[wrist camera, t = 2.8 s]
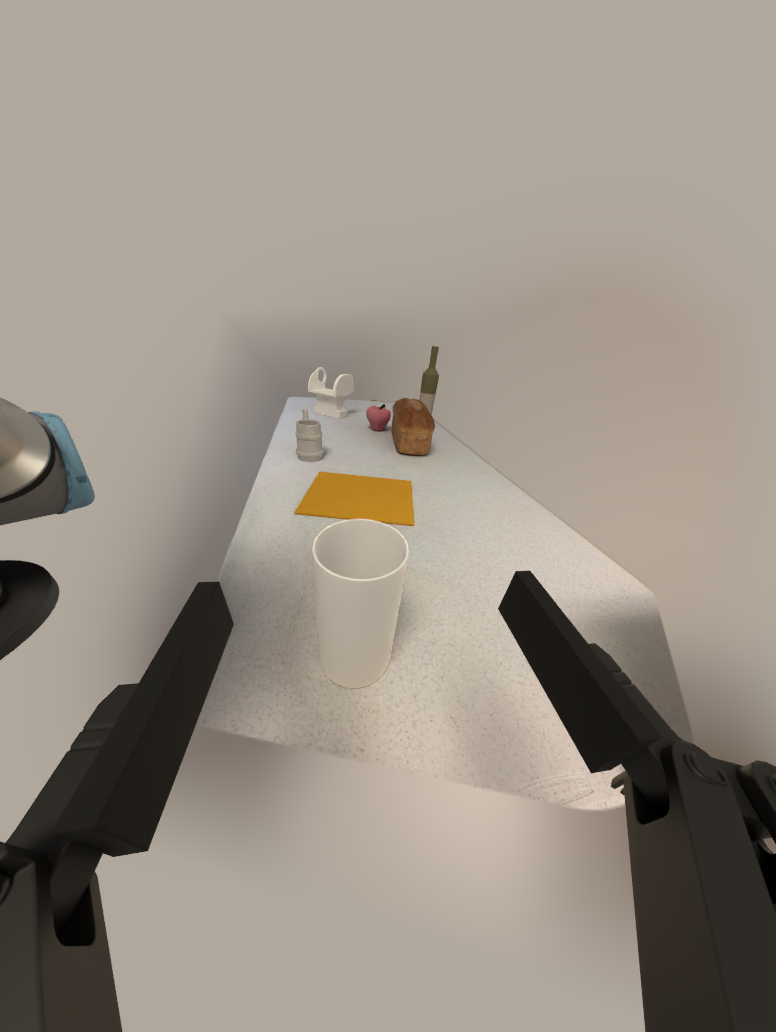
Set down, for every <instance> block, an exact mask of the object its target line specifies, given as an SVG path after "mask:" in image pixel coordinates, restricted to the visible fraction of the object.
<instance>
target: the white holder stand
mask: <svg viewBox="0 0 776 1032" xmlns="http://www.w3.org/2000/svg"><path fill="white" fill-rule="evenodd" d="M320 370H322V371H323V373H324V379H323V381H322V382H320V381H319V379H318V373H319V371H320ZM326 378H327V375H326V371H325V369H324V368H323V367H319V368H317V370H316V371H314V372H313V373H312V375H311V376H310V379H309V383H308V390H309V392H314V393H316V401H317V405H316V406H314V413H317V414H321V415H326V416H330V417H334V418H338V419H341V418H344V417H347V412H348V410H346V409H344V396H345V395H350V393H353V387H354V380H353V376H352V375H350V374H342V375H340V376H339V377H338V378H337V379H336V381H335V384H334V388H333V390H331V389H326V388H325V381H326Z"/></svg>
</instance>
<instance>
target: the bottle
mask: <svg viewBox="0 0 776 1032" xmlns="http://www.w3.org/2000/svg"><path fill="white" fill-rule="evenodd" d="M438 348H439V347H434V346H433V347H432V350H431V358H430V365H429V368H428V369H427V370H426V371H425V372H424V373H423V376H422V384H421V391H420V399H419V401H421V402H423V403H424V405H425V406H426V407H427V408H428V410H429V412H430V414H431V415H432V409H433V404H434V399H435V394H436V389H437V384H438V378H439V375H438V373H437V371H436V369H435V365H436V359H437V353H438Z"/></svg>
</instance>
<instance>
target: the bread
mask: <svg viewBox="0 0 776 1032" xmlns="http://www.w3.org/2000/svg"><path fill="white" fill-rule="evenodd" d="M434 428H435V424H434V420H433V418H432V416H431V414H430V412H429V410H428V408H427V407H426V406H425V405H424V403H423V402H421V401H419V400H416V399H408V398H403V399H400V400H398V401H396V403H395V404H394V406H393V421H392V433H393V437H394V440H395V443H396V447H397V449H398V450H399V451H400V452H401V453H404V454H412V455H424V454H426V453H428V452H429V449H430V444H431V439H432V433H433V431H434Z"/></svg>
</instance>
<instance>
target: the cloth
mask: <svg viewBox="0 0 776 1032" xmlns="http://www.w3.org/2000/svg"><path fill="white" fill-rule="evenodd" d="M294 513H295V514H300V515H310V516H320V517H330V518H340V519H368V520H374V521H378V522H382V523H390V524H400V525H410V526H414V514H413V501H412V487H411V481H406V480H396V479H386V478H376V477H367V476H357V475H347V474H337V473H328V472H319V473H318V475H317V477H316V478H315V480H314V482H313V483H312V485H311V486H310V488H309V490H308V491H307V493H306V495H305V496H304V498H303V499H302V501H301V503H300V504H299V506H298V508H297V509H296V511H295V512H294Z"/></svg>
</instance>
